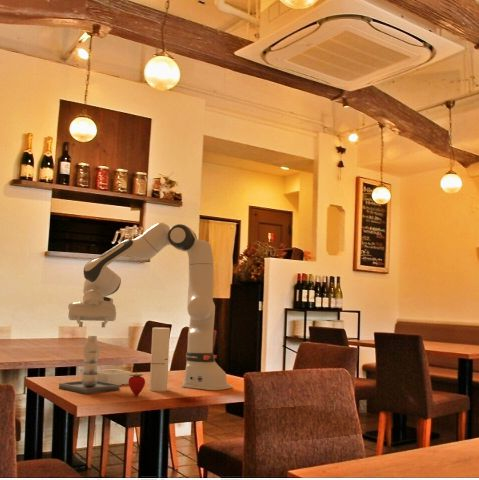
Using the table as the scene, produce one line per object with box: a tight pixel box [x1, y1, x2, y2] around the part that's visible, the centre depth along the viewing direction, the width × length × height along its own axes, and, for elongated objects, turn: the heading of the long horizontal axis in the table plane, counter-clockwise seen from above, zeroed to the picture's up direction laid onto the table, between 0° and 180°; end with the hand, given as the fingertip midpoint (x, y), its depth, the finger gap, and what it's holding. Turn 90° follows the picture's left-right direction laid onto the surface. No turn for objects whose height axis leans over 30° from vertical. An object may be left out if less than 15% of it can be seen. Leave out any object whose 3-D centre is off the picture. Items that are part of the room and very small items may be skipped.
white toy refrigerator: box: [148, 327, 171, 392], centre depth 228 cm, size 7×7×25 cm
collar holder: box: [97, 368, 132, 386], centre depth 240 cm, size 12×12×5 cm
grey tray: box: [58, 380, 121, 395], centre depth 223 cm, size 18×16×2 cm
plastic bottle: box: [81, 335, 100, 387], centre depth 224 cm, size 6×7×20 cm
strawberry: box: [128, 370, 146, 397], centre depth 210 cm, size 6×8×10 cm
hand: (92, 326), depth 238 cm, fingers open, 8 cm apart
